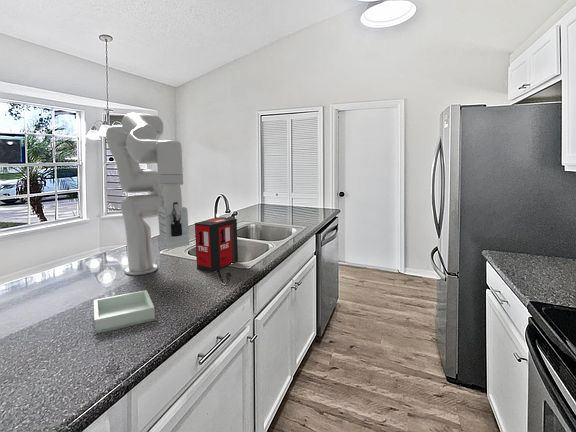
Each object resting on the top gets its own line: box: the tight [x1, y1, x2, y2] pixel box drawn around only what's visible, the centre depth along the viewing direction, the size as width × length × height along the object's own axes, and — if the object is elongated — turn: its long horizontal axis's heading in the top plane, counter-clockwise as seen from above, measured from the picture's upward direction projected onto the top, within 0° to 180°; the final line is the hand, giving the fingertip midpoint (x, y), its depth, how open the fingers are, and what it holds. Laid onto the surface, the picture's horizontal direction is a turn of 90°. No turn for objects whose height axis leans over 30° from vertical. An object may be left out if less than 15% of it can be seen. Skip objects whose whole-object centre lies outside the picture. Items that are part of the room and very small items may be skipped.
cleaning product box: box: [194, 216, 239, 273], centre depth 145 cm, size 16×9×20 cm, turn 150°
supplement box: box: [157, 206, 190, 250], centre depth 109 cm, size 7×7×13 cm
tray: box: [93, 289, 156, 334], centre depth 99 cm, size 15×15×4 cm
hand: (173, 233), depth 109 cm, fingers closed on supplement box, 8 cm apart
